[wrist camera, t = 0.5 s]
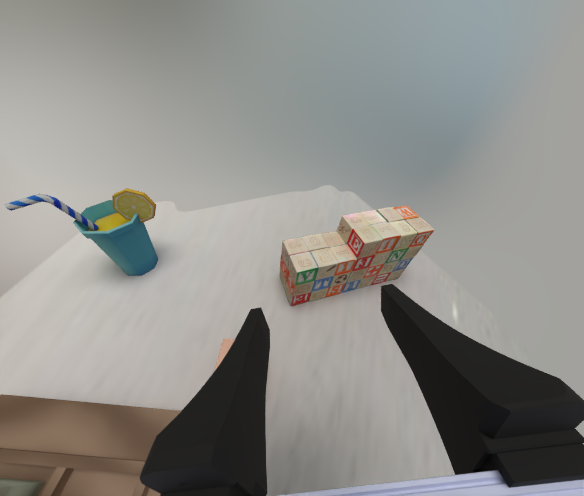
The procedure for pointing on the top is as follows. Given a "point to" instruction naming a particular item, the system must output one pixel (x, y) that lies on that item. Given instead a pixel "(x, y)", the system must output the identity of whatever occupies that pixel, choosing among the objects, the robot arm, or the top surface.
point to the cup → (113, 227)
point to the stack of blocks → (352, 253)
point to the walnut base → (75, 447)
